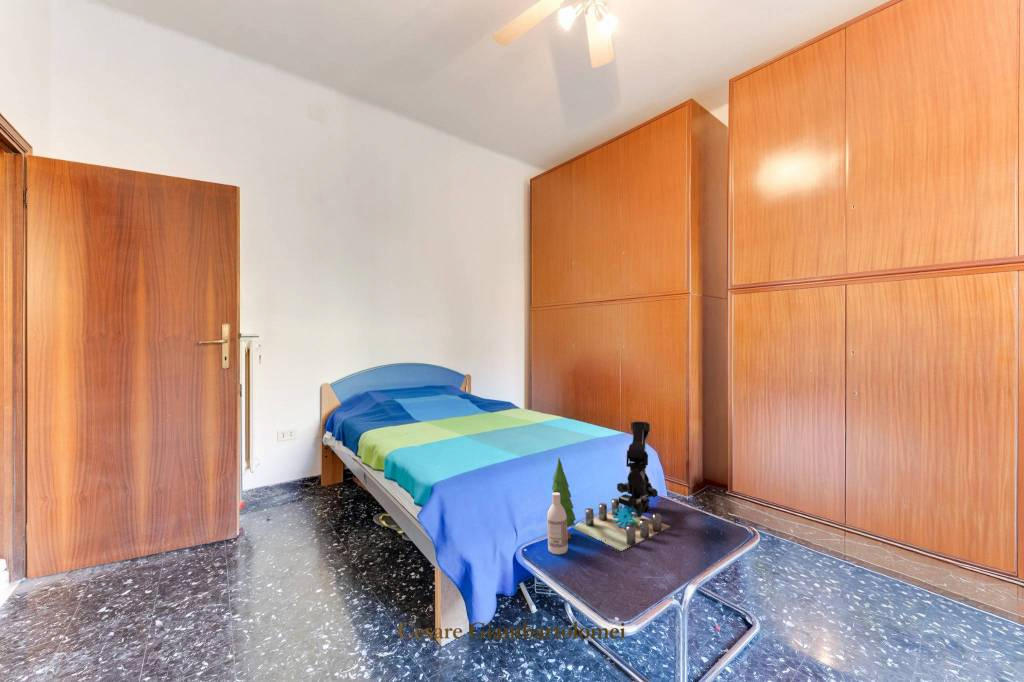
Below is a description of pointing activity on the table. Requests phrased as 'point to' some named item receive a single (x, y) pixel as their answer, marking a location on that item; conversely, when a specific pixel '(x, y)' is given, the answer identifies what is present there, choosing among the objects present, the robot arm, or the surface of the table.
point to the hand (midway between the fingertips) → (639, 517)
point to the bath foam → (557, 526)
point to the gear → (625, 517)
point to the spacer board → (615, 531)
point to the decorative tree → (564, 494)
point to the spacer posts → (629, 528)
